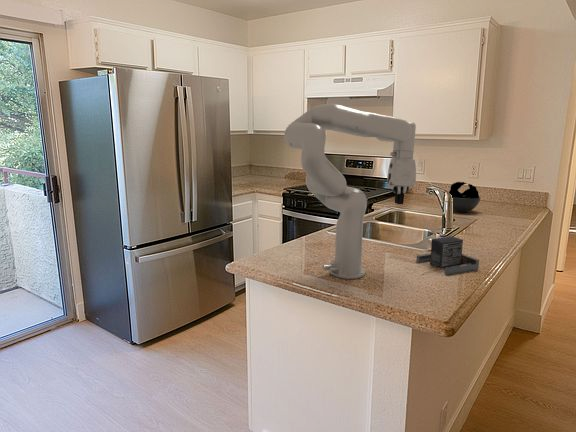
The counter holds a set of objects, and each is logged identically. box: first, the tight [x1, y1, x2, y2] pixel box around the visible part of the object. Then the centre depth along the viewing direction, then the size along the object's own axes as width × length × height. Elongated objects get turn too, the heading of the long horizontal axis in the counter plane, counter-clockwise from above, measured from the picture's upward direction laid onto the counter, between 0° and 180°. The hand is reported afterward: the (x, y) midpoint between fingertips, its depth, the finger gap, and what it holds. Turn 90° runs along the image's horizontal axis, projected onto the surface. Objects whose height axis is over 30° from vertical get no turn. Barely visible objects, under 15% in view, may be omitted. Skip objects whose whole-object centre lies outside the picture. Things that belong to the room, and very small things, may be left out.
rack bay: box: [415, 252, 480, 276], centre depth 165 cm, size 15×17×4 cm
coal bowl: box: [448, 181, 481, 213], centre depth 266 cm, size 20×20×19 cm
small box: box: [429, 236, 464, 270], centre depth 165 cm, size 11×6×10 cm, turn 114°
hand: (398, 203), depth 162 cm, fingers closed
